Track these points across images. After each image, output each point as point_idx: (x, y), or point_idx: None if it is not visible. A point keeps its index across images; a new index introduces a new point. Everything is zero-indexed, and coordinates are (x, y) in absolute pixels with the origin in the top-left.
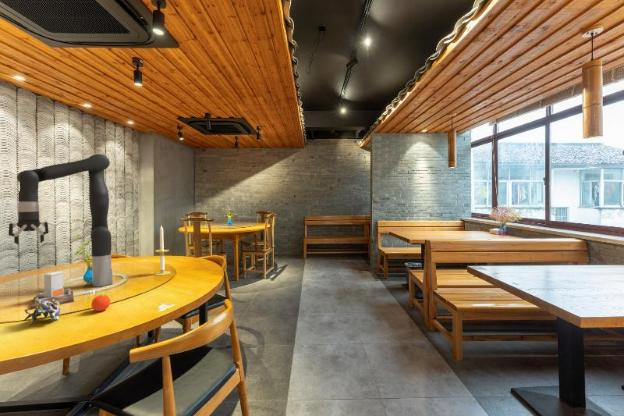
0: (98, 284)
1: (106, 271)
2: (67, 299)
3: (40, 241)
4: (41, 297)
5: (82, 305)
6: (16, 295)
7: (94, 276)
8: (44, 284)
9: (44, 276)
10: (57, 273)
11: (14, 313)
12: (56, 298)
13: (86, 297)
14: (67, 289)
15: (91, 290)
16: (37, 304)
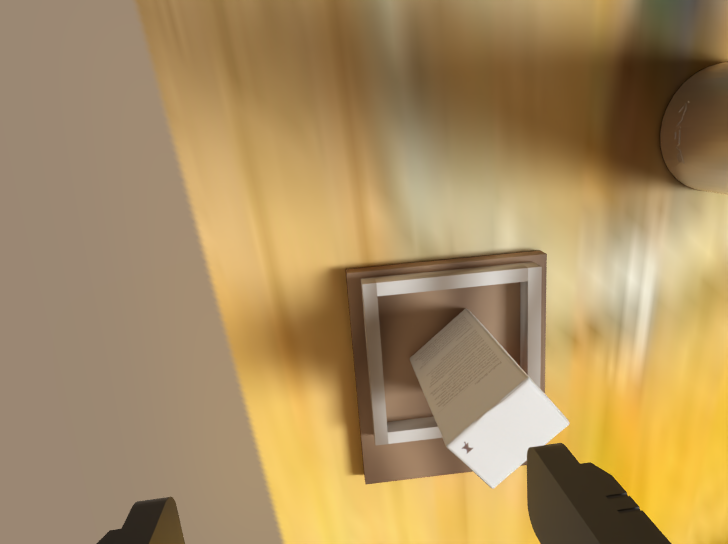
0: (698, 187)
1: None
2: None
3: (541, 542)
4: (389, 317)
5: None
6: (215, 68)
7: (726, 175)
8: (428, 403)
9: (444, 439)
10: None
11: (304, 496)
12: None
13: (596, 407)
14: (525, 280)
15: (636, 259)
16: (388, 458)
